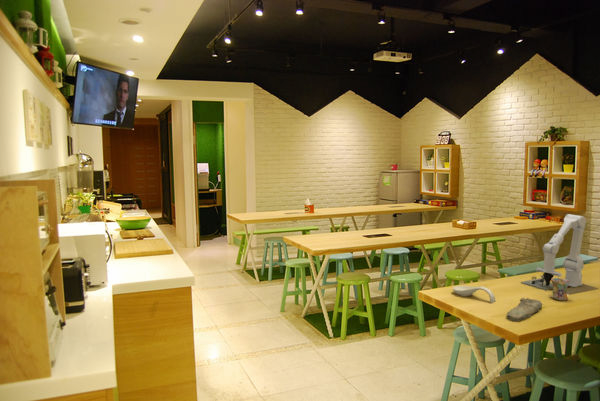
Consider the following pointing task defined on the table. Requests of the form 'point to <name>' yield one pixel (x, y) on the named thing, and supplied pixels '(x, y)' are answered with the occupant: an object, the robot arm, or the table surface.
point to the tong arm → (543, 282)
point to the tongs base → (536, 280)
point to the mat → (538, 285)
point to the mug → (559, 288)
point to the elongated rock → (524, 309)
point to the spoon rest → (472, 291)
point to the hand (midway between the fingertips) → (547, 285)
